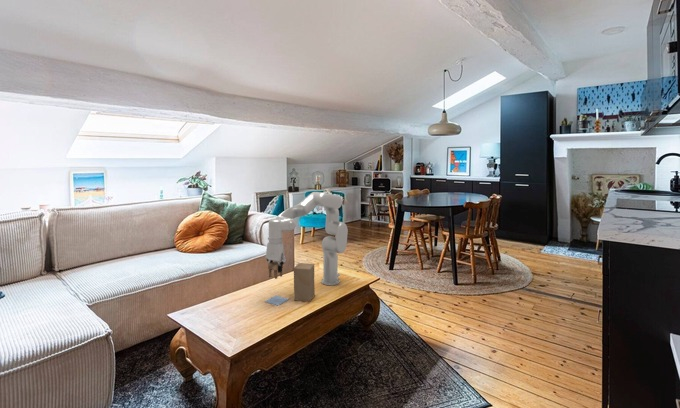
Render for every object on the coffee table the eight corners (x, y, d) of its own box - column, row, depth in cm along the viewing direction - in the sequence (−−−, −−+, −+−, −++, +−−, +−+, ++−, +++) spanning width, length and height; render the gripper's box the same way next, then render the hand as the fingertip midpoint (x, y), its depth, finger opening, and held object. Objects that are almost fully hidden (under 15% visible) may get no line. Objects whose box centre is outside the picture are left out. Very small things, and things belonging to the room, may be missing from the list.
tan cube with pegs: (268, 277, 200) (268, 263, 199) (275, 274, 205) (275, 261, 204) (276, 279, 197) (276, 265, 196) (282, 276, 202) (282, 262, 201)
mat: (275, 296, 211) (275, 295, 210) (288, 299, 206) (288, 298, 205) (264, 302, 202) (264, 301, 202) (277, 305, 197) (277, 304, 197)
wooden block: (310, 301, 203) (309, 269, 200) (293, 300, 205) (293, 267, 202) (314, 295, 212) (314, 263, 210) (299, 293, 214) (298, 262, 212)
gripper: (259, 239, 200) (260, 270, 202) (282, 243, 191) (283, 275, 193) (268, 237, 206) (268, 266, 208) (291, 241, 198) (291, 271, 200)
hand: (275, 270), depth 201 cm, fingers closed on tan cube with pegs, 6 cm apart
